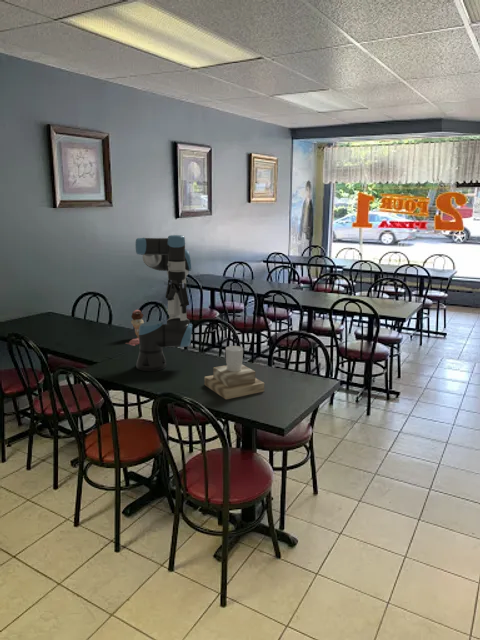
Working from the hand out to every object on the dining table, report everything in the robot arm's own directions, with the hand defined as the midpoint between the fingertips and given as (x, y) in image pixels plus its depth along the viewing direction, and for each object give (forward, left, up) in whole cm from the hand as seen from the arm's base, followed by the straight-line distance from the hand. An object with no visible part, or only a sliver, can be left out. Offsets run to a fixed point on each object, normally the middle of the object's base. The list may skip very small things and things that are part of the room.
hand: (177, 317), depth 227 cm
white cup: (+18, +20, -23) cm, 35 cm away
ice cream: (-77, +8, -32) cm, 84 cm away
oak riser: (+18, +20, -32) cm, 42 cm away
